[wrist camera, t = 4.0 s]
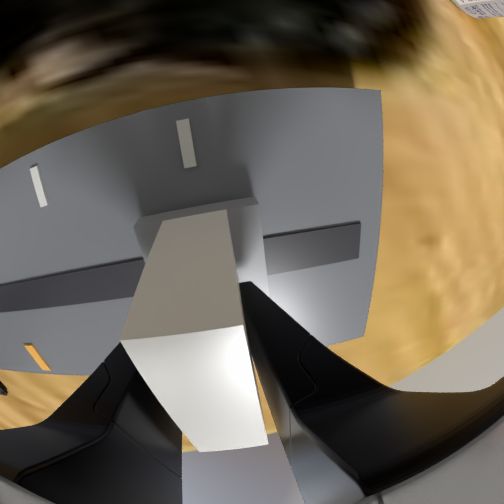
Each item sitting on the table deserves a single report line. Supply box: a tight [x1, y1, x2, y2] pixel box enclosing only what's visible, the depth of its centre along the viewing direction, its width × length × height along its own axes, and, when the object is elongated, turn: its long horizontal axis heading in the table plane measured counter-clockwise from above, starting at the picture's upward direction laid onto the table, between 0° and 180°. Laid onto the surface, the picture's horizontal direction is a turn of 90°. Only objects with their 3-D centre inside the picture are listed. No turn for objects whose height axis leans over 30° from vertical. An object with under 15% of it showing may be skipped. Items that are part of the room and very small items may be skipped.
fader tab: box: [120, 197, 269, 452], centre depth 8 cm, size 4×5×6 cm
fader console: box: [0, 88, 383, 375], centre depth 11 cm, size 26×12×2 cm, turn 97°
